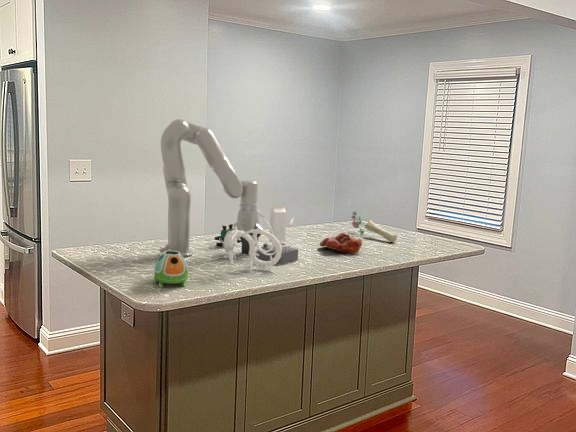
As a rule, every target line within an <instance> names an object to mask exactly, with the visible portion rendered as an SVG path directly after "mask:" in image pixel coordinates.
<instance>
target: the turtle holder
mask: <svg viewBox="0 0 576 432" xmlns="http://www.w3.org/2000/svg"><path fill="white" fill-rule="evenodd" d="M169 253H172V254H173V255H170V254H169ZM153 271H154V274H153V277H154V283H158V287H159V288H163V287H164V284H181V285H180V286H181V287H182V286H183V287H182V288H184V287H186V282H185V281H187V280H188V279H189V267H188V263H187V261H186V259H185V257H182V255H181V254H180V252H178V251H164V252H162V253H161V254H160V255H159V256H158V258H157V260H156V263H155V266H154V269H153Z"/></svg>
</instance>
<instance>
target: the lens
mask: <svg viewBox="0 0 576 432" xmlns="http://www.w3.org/2000/svg"><path fill="white" fill-rule="evenodd" d="M248 234H249V235H251V236H252V238H253V235H252V233H248ZM249 249H250V247H249V242H248V241H247V240H246V239H245V238H243V237H242V242H241V254H242V255H245V256H246V255H248V256H250V255H249Z"/></svg>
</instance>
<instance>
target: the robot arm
mask: <svg viewBox="0 0 576 432" xmlns="http://www.w3.org/2000/svg"><path fill="white" fill-rule="evenodd" d="M183 141H184V142H187V143H190V144H193V145H197V146H198V148H199V150H200V151H201V153H202V155H203V157H204V159H205V161H206V162H207V164H208V166H209V168H211V169H210V170H212V172H214V173H215V175H216V176H217V178H218V179H219V181H220V183H221V184H222V186H223V191H224V193H225V194H226V195H227V196H228V197H230V198H231V199H238V198H240V204H239V205H238V206H239V208H240V209H239V210H238V212H237V219H236V222H235V223H233V229H235V226H236V227H237V230H240V231H241V230H242V229H243V230H242V231H244V232H247V231H250V230H252V229H253V230H255V229H259V230H264V229H263V228H262V227H261V225H260V224H259V223H260V221H259V214H258V211H257V209H258V187H259V185H258V182H257V181H255V180H240V179H239V177H238V175H237V173H236V172H235V170H234V168H233V166H232V165H231V163H230V161H229V159H228V157H227V156H226V154H225V152H224V151H223V148H222V146H221V145H220V143H219V141H218V139H217V138H216V136H215V134H214V132H213V131H212V130H211V129H210V128H208V127H203V126H200V125H196V124H194V123H191V122H188V121H186V120H184V119H181V118H179V119H178V118H177V119H174V120H172V121H171V122H170V124H169V125H168V126H166V128H165V129H164V131H163V132H162V135H161V137H160V151H161V156H162V157H161V158H162V163H163V167H162V172H163V178H164V183H165V187H166V192H167V197H168V199H167V201H168V205H167V207H168V209H167V244H165V247H161V248H159V249H158V251H159V253H161V254H162V253H163V252H164V251H178V252H180V254H181V255H182V257H183V258H185V257H191V256H193V251H192V250H191V249H190V235H191V234H190V225H191V223H190V222H191V219H190V218H191V217H190V215H191V203H192V202H191V200H192V199H191V197H192V196H191V191H190V189H189V188H188V182H187V177H186V168H185V164H184V159H183V154H182V148H181V147H182V146H181V145H182V142H183ZM252 235H253V233H252ZM261 235H262V234H257V240H258V241H259V238H260V236H261ZM240 239H241V241H240V240H237V239H236V243H237V244H239V243H242V237H240ZM253 239H254V238H253ZM255 247H256V244H255ZM169 254H170V255H173V254H172V253H169Z"/></svg>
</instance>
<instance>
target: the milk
mask: <svg viewBox="0 0 576 432" xmlns="http://www.w3.org/2000/svg"><path fill="white" fill-rule="evenodd" d="M269 218H270V219H269V221H270V222H269V225H270V226H271V228H272V231H273V234H274V236H275V237H276V238H277V240H278V241H279V242H282V240H283V238H284V236H285V234H286V231H287V230H286V227H287V226H286V225H287V210H286V209H285V204H272V208H271V209H270V216H269ZM270 226H269V233H270V234H272V231H271V228H270ZM273 234H272V235H273ZM285 237H286V236H285ZM268 239H269V238H268ZM269 242H273V241H272V240H271V239H269ZM283 242H286V238H285V239H284V241H283Z"/></svg>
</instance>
